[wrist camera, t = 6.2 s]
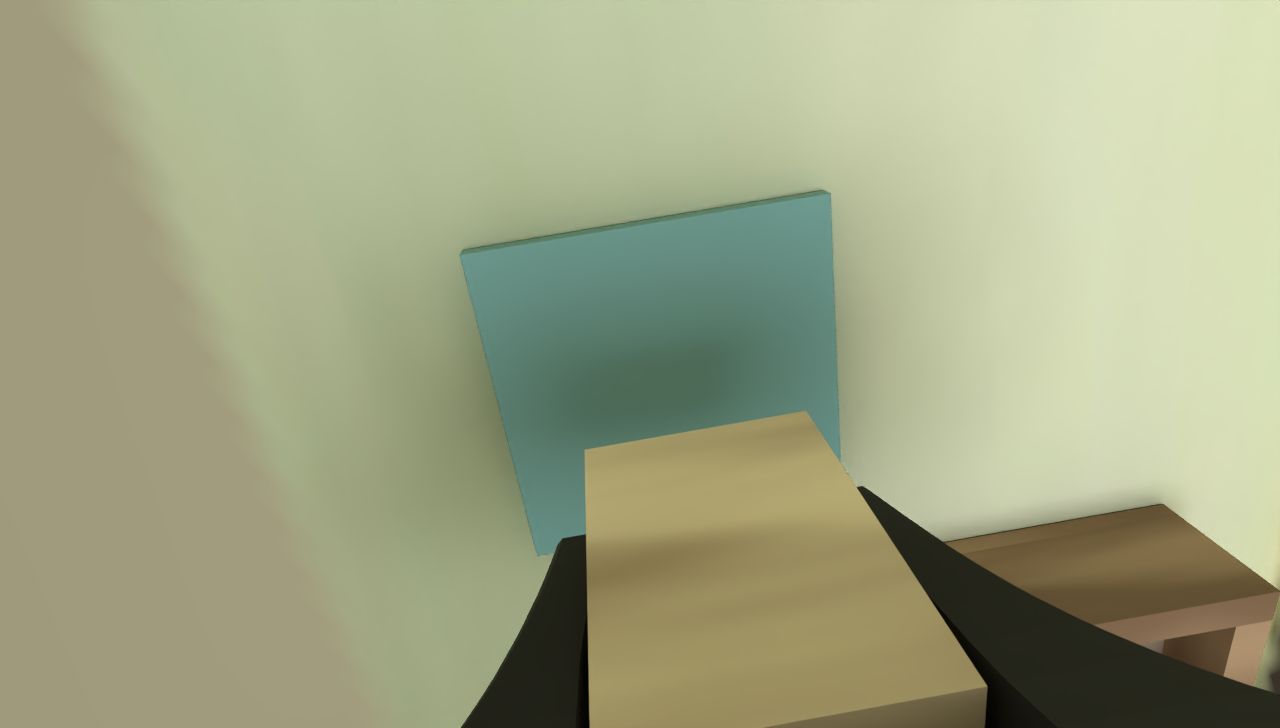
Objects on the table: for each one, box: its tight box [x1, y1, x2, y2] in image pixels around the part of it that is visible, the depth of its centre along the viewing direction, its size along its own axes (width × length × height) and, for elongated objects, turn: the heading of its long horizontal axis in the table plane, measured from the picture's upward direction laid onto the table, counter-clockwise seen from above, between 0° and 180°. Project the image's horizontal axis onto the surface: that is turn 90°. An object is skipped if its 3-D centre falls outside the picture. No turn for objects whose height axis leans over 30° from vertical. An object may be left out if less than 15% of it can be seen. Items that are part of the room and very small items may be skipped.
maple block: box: [585, 411, 988, 728], centre depth 10 cm, size 4×4×6 cm
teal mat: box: [460, 190, 841, 556], centre depth 19 cm, size 9×9×1 cm
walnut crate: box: [945, 504, 1280, 687], centre depth 22 cm, size 10×14×4 cm
